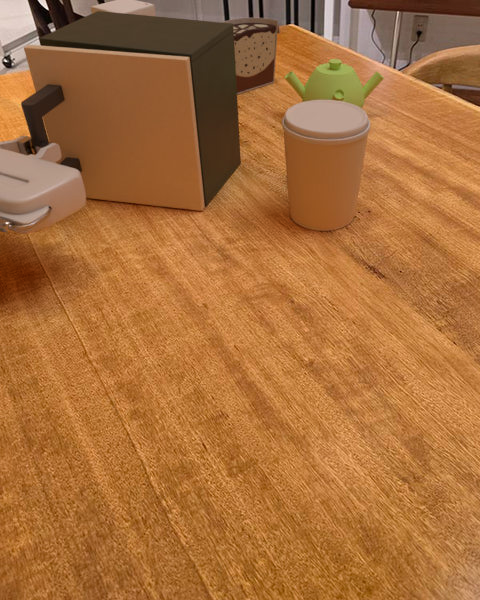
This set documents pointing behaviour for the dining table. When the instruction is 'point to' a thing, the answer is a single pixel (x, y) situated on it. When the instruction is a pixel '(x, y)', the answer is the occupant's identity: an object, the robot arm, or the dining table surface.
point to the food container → (254, 52)
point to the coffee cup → (324, 161)
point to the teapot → (334, 84)
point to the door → (119, 122)
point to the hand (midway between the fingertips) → (44, 146)
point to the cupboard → (204, 71)
